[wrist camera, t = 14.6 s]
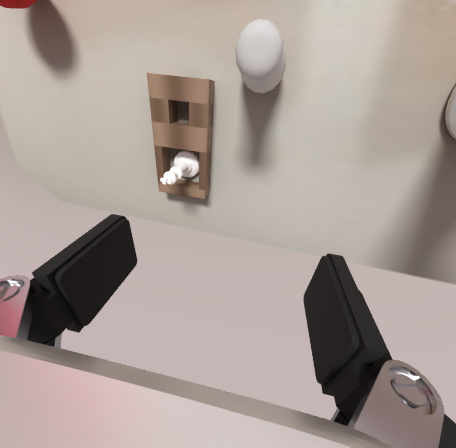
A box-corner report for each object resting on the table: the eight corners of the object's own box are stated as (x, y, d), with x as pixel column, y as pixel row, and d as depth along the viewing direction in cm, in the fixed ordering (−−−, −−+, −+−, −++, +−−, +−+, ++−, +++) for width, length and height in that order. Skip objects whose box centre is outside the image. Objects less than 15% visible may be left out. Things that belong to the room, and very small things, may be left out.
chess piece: (175, 147, 36) (147, 161, 28) (202, 154, 36) (181, 171, 28) (174, 173, 39) (147, 193, 30) (198, 179, 39) (178, 202, 30)
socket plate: (214, 81, 30) (209, 79, 27) (209, 192, 40) (205, 198, 37) (156, 75, 31) (146, 73, 28) (165, 185, 40) (159, 191, 38)
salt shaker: (291, 76, 28) (305, 63, 17) (255, 102, 30) (246, 104, 19) (272, 29, 26) (274, -21, 15) (235, 61, 28) (212, 38, 17)
